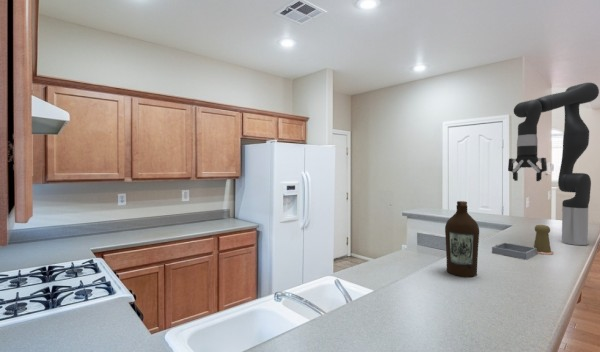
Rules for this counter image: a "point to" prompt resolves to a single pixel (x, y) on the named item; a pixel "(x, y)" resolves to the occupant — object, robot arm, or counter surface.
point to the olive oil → (462, 242)
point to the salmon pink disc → (545, 253)
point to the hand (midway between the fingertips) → (526, 180)
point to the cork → (542, 239)
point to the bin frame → (504, 247)
